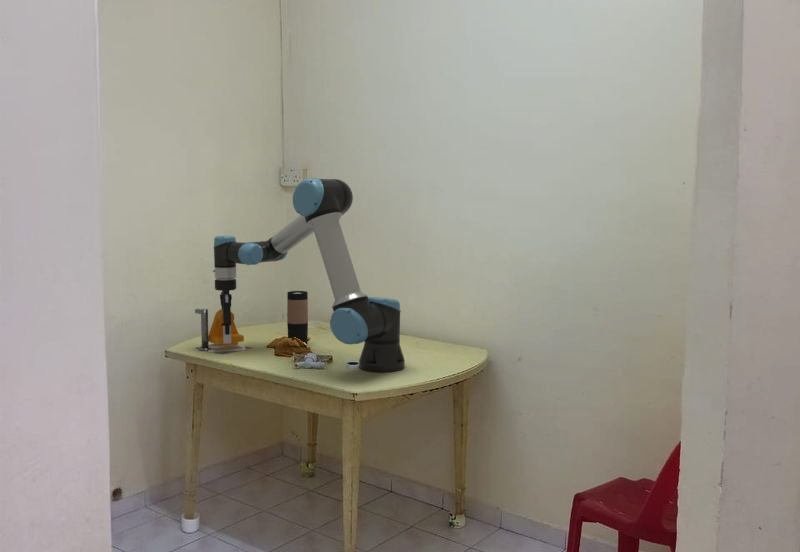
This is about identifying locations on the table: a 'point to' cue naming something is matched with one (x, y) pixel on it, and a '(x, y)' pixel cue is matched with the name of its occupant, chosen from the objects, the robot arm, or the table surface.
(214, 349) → the mat
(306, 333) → the travel mug
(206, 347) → the grey smooth fixture
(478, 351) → the table surface
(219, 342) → the bracket
